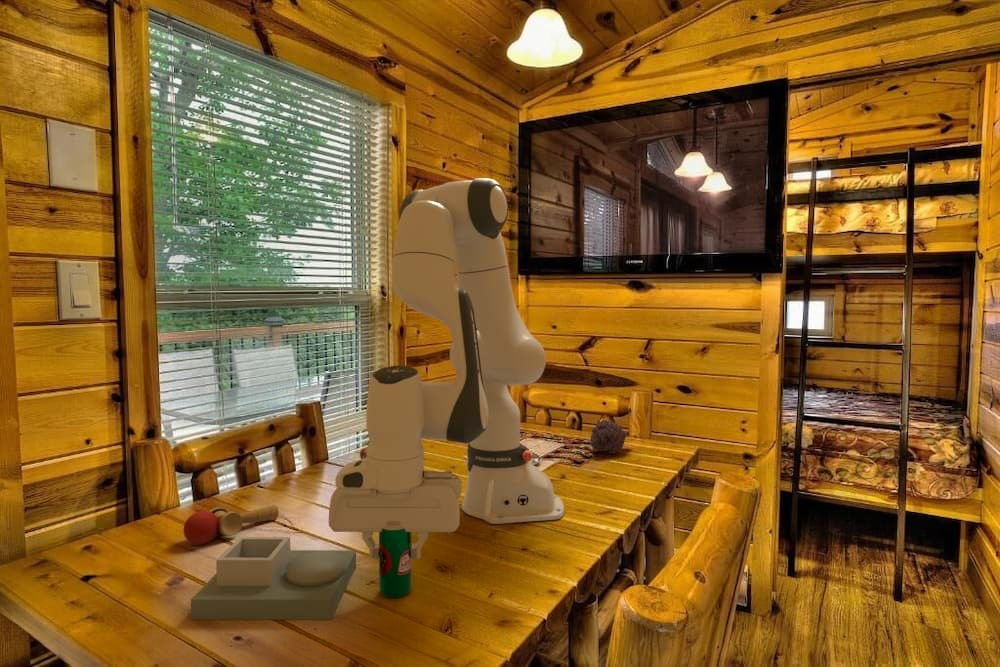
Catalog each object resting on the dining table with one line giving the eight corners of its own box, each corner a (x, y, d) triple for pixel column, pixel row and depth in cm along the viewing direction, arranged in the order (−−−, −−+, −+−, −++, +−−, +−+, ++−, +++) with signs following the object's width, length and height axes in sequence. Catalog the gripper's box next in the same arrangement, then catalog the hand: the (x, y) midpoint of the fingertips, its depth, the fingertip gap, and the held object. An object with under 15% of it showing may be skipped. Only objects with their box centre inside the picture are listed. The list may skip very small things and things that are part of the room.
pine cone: (605, 463, 163) (606, 428, 162) (576, 456, 169) (576, 422, 169) (636, 451, 176) (636, 418, 175) (607, 445, 183) (608, 413, 182)
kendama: (261, 520, 123) (172, 536, 109) (267, 492, 123) (179, 504, 109) (280, 536, 119) (191, 555, 104) (287, 506, 118) (198, 521, 104)
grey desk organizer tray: (356, 567, 100) (356, 527, 99) (331, 619, 84) (330, 572, 83) (239, 567, 99) (238, 527, 99) (191, 619, 83) (190, 572, 83)
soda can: (404, 601, 89) (404, 525, 88) (373, 597, 90) (373, 522, 89) (415, 585, 94) (416, 513, 93) (386, 581, 95) (386, 510, 94)
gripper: (462, 465, 94) (462, 548, 95) (335, 464, 93) (336, 548, 94) (461, 477, 88) (460, 566, 89) (324, 477, 87) (325, 566, 88)
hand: (395, 556), depth 92 cm, fingers closed on soda can, 5 cm apart
